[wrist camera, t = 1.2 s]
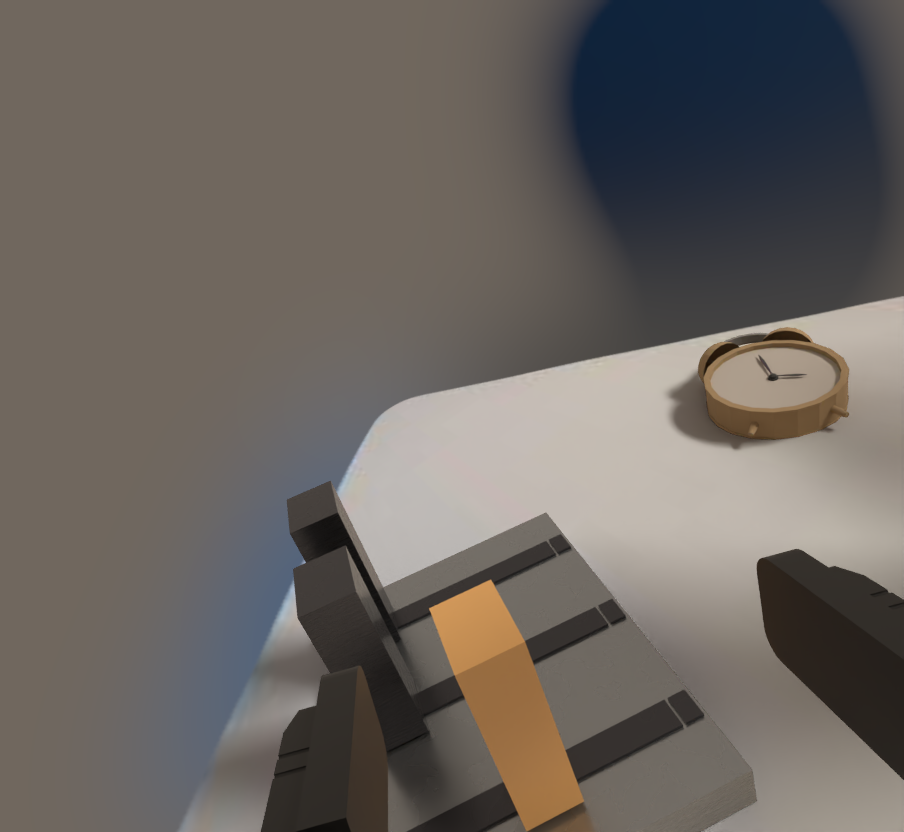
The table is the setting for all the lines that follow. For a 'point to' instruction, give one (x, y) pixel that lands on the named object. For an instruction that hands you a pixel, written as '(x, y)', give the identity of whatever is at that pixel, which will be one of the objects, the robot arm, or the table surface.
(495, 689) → the orange rectangular block
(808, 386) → the alarm clock
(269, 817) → the robot arm
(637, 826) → the grey slotted base
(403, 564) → the table surface
